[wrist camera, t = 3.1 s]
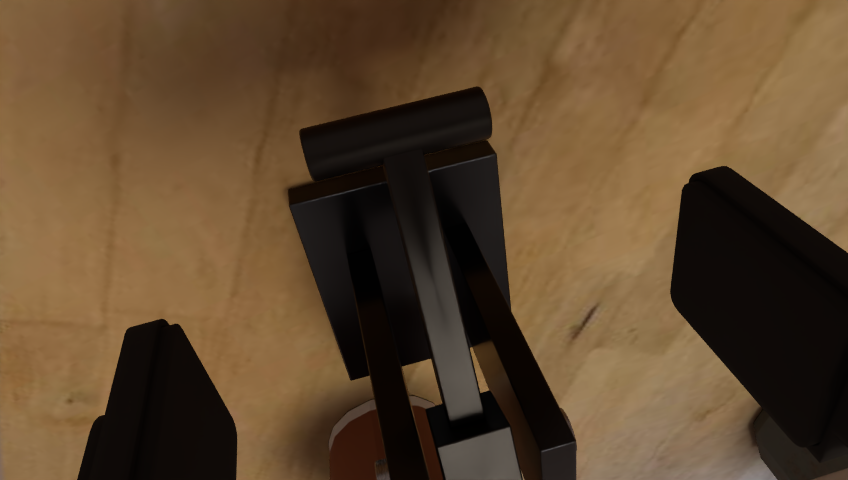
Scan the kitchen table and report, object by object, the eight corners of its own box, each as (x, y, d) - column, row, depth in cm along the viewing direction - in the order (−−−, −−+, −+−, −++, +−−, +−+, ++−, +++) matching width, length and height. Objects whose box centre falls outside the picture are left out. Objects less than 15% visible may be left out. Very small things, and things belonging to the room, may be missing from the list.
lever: (301, 129, 17) (295, 129, 15) (470, 88, 18) (489, 82, 15) (402, 496, 20) (411, 546, 17) (548, 453, 20) (575, 496, 18)
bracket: (287, 189, 23) (305, 449, 14) (487, 139, 24) (636, 354, 14) (347, 362, 29) (389, 626, 20) (505, 319, 30) (619, 553, 20)
